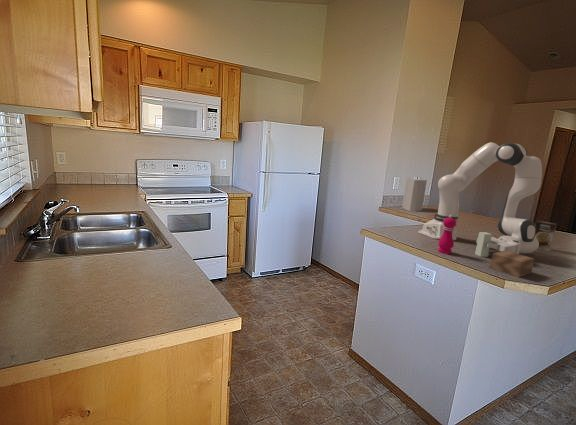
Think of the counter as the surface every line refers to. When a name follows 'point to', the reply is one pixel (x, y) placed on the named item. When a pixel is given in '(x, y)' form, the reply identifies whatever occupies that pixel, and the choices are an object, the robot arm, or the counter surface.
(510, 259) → the walnut riser block
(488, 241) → the sage block
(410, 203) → the paper bag
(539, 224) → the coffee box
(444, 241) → the pepper mill
